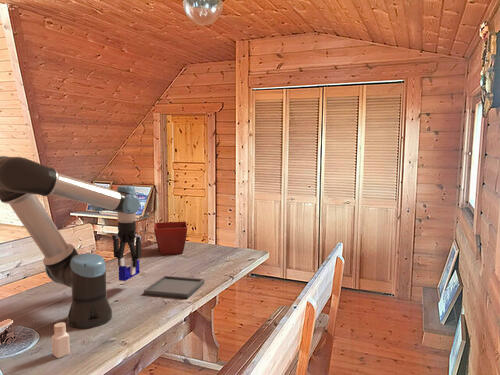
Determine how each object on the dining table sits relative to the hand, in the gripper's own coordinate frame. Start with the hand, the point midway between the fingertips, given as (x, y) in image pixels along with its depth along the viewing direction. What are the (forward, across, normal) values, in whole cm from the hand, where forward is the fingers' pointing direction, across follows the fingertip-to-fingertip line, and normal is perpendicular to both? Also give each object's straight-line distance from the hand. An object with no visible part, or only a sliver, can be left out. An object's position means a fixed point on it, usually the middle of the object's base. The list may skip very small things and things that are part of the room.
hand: (127, 273), depth 174 cm
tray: (+7, -19, -8) cm, 22 cm away
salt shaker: (+9, -9, +54) cm, 55 cm away
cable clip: (+1, 0, 0) cm, 2 cm away
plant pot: (+7, +10, -66) cm, 67 cm away
